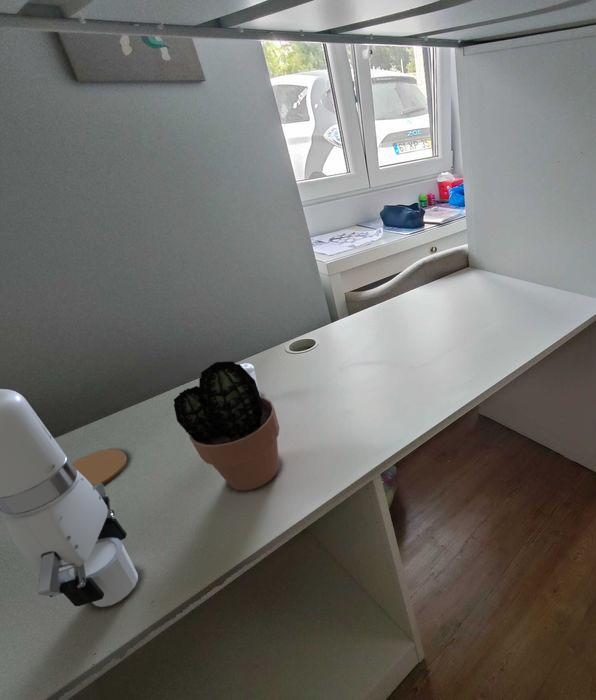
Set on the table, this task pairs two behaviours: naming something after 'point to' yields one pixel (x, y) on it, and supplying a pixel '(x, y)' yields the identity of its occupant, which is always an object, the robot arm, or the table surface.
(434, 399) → the table surface
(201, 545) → the table surface
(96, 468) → the coaster
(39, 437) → the robot arm
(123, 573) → the white cylinder
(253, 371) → the milkshake
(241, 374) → the potted plant
